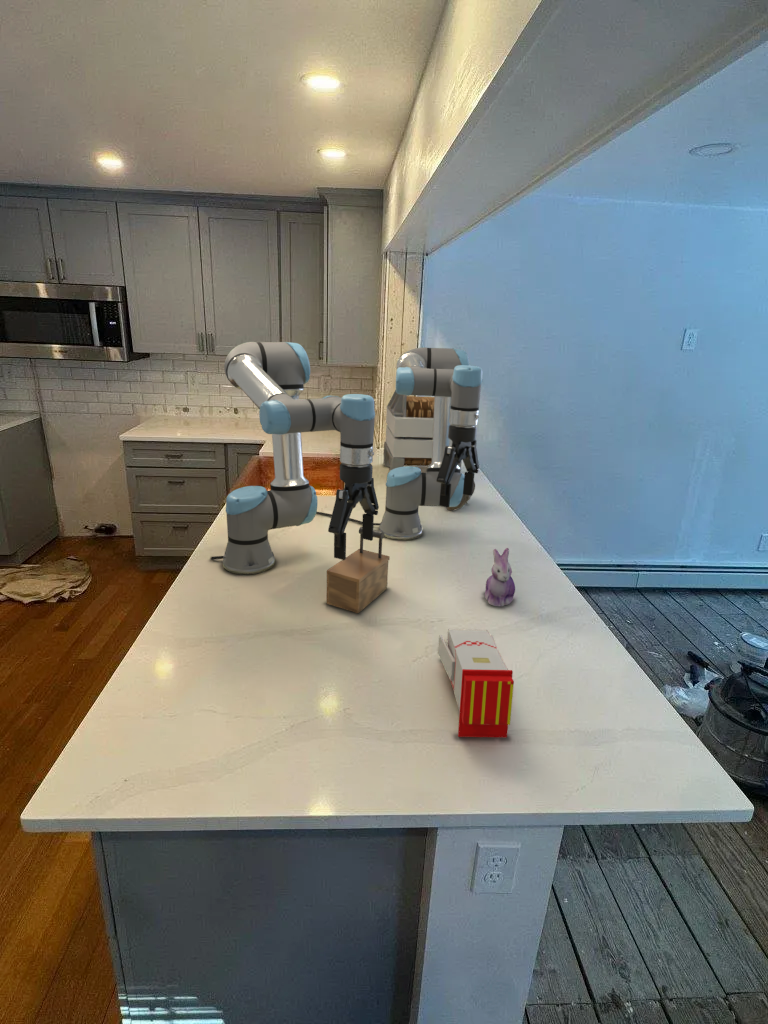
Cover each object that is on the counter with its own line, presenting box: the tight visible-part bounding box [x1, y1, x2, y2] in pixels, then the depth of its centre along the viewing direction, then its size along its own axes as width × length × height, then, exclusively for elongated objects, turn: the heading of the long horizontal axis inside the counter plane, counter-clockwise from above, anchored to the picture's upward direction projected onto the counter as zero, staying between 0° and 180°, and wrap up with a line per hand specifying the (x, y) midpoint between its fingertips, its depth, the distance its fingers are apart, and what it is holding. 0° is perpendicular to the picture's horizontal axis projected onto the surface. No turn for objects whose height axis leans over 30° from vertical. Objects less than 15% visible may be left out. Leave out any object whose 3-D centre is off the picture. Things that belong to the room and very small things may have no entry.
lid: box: [326, 526, 391, 583], centre depth 152 cm, size 17×10×9 cm, turn 153°
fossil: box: [445, 482, 476, 511], centre depth 232 cm, size 22×10×15 cm
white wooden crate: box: [383, 389, 463, 474], centre depth 268 cm, size 34×33×41 cm
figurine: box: [484, 547, 516, 607], centre depth 155 cm, size 9×10×15 cm
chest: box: [326, 560, 389, 614], centre depth 154 cm, size 16×10×9 cm, turn 152°
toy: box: [437, 628, 515, 738], centre depth 117 cm, size 12×13×30 cm
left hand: (354, 548), depth 137 cm, fingers open, 13 cm apart
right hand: (456, 500), depth 159 cm, fingers open, 13 cm apart
